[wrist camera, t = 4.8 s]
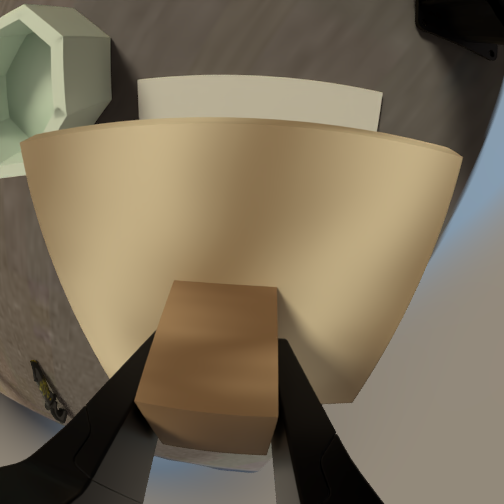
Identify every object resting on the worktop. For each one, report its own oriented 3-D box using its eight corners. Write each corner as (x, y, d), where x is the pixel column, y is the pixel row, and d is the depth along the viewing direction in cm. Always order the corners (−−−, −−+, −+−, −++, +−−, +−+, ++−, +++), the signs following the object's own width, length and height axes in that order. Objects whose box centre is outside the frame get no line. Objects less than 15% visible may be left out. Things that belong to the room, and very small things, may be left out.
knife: (36, 343, 37) (22, 364, 32) (44, 346, 37) (30, 368, 33) (62, 410, 48) (55, 428, 43) (68, 413, 48) (61, 431, 44)
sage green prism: (112, -4, 11) (66, -16, 7) (115, 143, 17) (74, 171, 13) (4, 38, 11) (-43, 46, 7) (14, 155, 17) (-27, 182, 13)
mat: (380, 91, 14) (382, 92, 14) (340, 280, 23) (341, 283, 22) (140, 79, 15) (137, 79, 14) (159, 268, 23) (157, 272, 22)
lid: (448, 147, 7) (567, 245, 3) (350, 389, 14) (361, 475, 10) (35, 134, 7) (-83, 212, 3) (117, 371, 14) (91, 451, 10)
